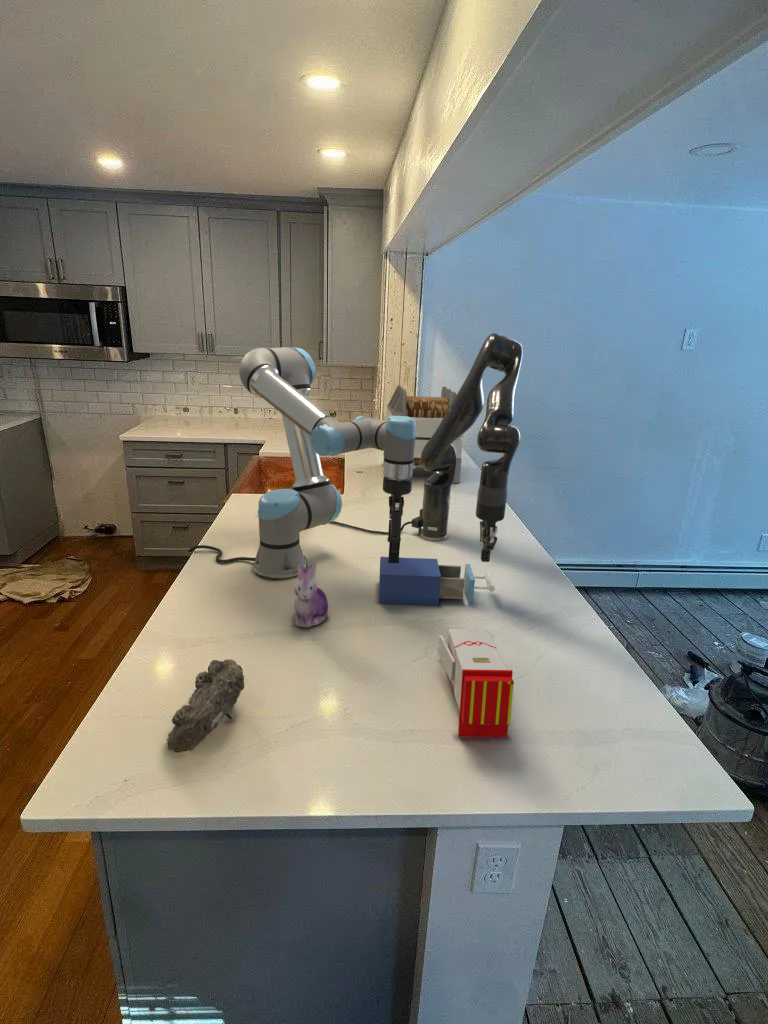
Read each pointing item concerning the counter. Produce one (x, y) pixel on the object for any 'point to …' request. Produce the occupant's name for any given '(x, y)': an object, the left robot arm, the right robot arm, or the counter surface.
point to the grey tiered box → (425, 419)
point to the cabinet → (409, 581)
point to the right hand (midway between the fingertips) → (484, 560)
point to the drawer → (460, 582)
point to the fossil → (206, 705)
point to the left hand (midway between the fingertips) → (393, 551)
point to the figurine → (309, 599)
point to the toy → (478, 682)
